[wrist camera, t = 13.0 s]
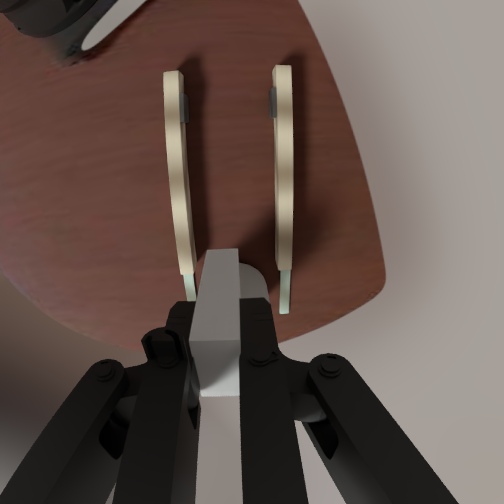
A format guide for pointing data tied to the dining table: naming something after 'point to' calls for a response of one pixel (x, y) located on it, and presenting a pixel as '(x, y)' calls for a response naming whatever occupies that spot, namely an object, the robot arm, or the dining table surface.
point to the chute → (179, 177)
